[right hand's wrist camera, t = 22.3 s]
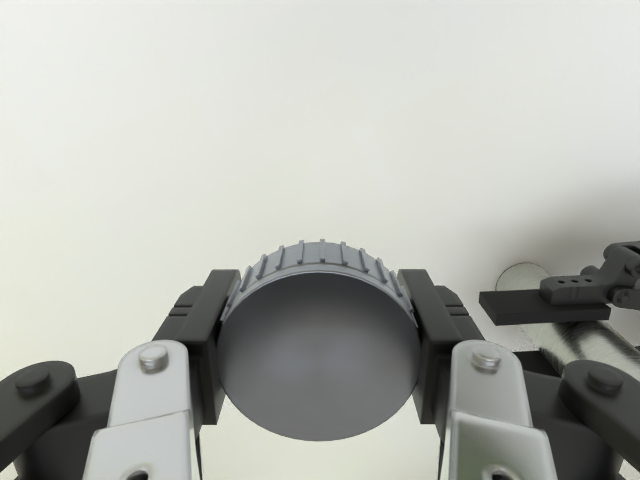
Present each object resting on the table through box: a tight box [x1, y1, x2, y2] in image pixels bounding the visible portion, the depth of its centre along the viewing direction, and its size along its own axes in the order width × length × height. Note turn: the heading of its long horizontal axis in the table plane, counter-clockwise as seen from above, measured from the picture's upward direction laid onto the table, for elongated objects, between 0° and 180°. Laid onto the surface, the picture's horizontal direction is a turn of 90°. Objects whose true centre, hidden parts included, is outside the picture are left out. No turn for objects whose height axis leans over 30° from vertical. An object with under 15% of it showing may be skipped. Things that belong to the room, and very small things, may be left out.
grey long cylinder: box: [496, 263, 640, 473], centre depth 24 cm, size 4×4×18 cm
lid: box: [216, 239, 421, 441], centre depth 10 cm, size 5×5×2 cm
